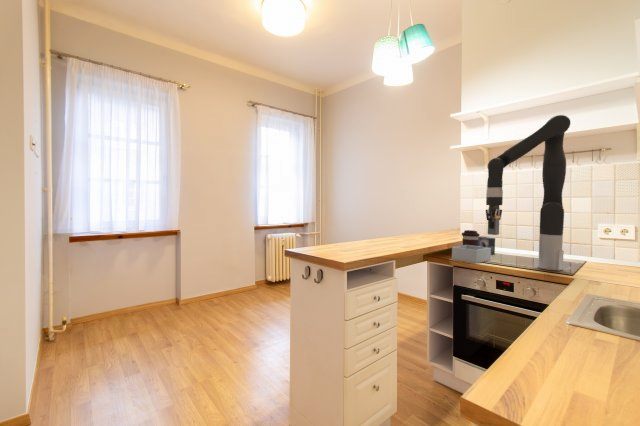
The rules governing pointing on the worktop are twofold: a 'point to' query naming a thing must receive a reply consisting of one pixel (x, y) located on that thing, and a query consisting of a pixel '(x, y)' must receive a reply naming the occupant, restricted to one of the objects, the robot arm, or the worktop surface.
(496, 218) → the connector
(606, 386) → the worktop surface
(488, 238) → the small box
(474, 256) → the walled box
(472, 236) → the coffee cup
